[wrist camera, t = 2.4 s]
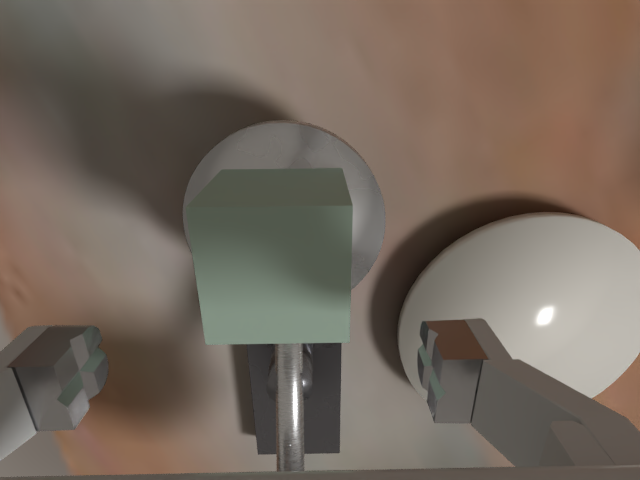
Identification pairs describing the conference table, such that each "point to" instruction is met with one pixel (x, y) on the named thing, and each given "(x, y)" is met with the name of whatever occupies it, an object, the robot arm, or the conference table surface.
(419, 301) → the dish
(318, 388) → the balance
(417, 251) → the conference table surface
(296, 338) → the block
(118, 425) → the conference table surface
